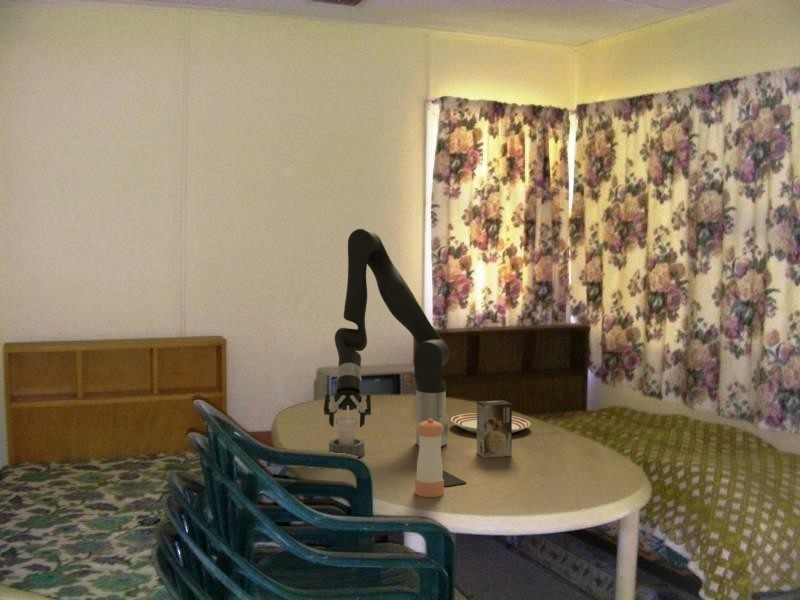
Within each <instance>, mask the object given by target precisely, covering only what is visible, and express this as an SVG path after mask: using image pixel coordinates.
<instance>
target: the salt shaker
mask: <svg viewBox="0 0 800 600" xmlns="http://www.w3.org/2000/svg"><path fill="white" fill-rule="evenodd" d="M416 430H417V433H418V434H419V435H420V438H419V446H418V455H417V462H416V478H415V479H414V480H415V481H414V487H415V489H414V491H415V492H414V493H415V494H416V495H417V496H419V497H422V498H438V497H441V496H443V495H444V494H445V493H444V490H445V489H444V488H445V487H444V480H443V478H442V474H443V471H444V470H443V469H444V468H443V467H444V466H443V459H442V458H443V456H442V452H441V450H442V447H441V435H442V434H443V432H444V427H443V425H442V424H441V423H439V422H437V421H434V420H433V419H431V418H429V419H428V420H427V421H423V422H421V423H419V424H418V426H417V429H416V428H415V431H416Z"/></svg>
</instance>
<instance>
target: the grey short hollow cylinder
mask: <svg viewBox="0 0 800 600" xmlns="http://www.w3.org/2000/svg"><path fill="white" fill-rule="evenodd" d="M328 442H329V443H328V453H329V452H334V453H346V454H351V455H355V456H358V457H360V458H363V457H365V456H366V452H365V451H366V450H365V440H363V439H361V438H357V437H354V445H340V444H339V437H338V438H332V439H331V440H329V441H328Z"/></svg>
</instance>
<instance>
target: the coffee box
mask: <svg viewBox="0 0 800 600" xmlns="http://www.w3.org/2000/svg"><path fill="white" fill-rule="evenodd" d="M476 413H477V433H476V454H478V455H480V456H481V457H482V458H484V459H488V458H490V459H491V458H500V457H502V458H503V457H504V458H505V457H511V456H512V453H513V449H512V446H513V445H512V444H513V443H512V441H513V440H512V437H513V433H512V416H513V403H510V402H509V401H506V400H503V399H501V400H500V399H498V400H482V401H478V400H477V401H476Z"/></svg>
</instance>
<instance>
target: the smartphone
mask: <svg viewBox="0 0 800 600" xmlns="http://www.w3.org/2000/svg"><path fill="white" fill-rule="evenodd" d="M442 478H443V480H444V488H453V487H457V486H458V487H459V486H463V485H467V482H466V481H465V480H463V479H461V478H458V477H456V476H455V475H453V474H451V473H449V472H447V471H445V470H443V474H442Z"/></svg>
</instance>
